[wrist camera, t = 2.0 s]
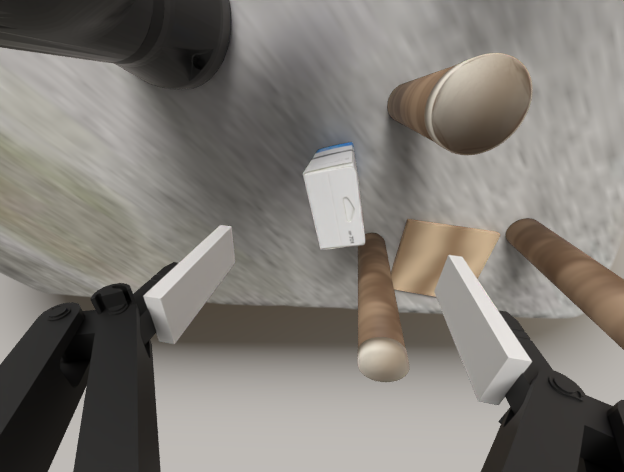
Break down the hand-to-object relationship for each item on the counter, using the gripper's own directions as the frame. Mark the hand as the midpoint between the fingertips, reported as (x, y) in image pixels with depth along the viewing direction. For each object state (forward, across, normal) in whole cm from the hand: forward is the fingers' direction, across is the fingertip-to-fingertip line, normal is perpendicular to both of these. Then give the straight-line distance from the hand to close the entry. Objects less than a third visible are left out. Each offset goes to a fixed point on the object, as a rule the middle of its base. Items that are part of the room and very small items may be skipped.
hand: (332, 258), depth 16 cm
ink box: (+21, 0, -1) cm, 21 cm away
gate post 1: (+21, +5, -10) cm, 24 cm away
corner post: (+21, +24, -5) cm, 32 cm away
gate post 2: (+21, +6, +9) cm, 23 cm away
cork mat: (+21, +15, -12) cm, 28 cm away
